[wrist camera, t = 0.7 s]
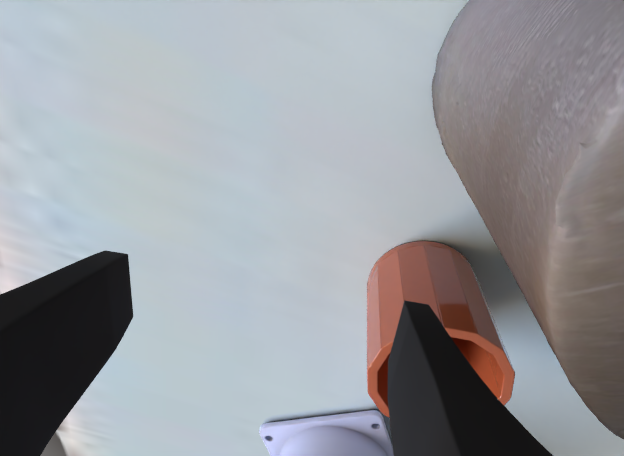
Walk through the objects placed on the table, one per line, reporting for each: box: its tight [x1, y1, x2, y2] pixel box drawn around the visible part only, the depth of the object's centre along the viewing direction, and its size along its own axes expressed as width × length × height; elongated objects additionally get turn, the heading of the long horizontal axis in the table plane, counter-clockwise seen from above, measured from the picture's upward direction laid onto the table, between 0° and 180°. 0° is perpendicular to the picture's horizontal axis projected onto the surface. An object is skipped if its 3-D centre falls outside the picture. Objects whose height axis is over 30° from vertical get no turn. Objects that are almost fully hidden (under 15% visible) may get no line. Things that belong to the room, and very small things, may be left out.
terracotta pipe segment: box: [367, 241, 515, 418], centre depth 20 cm, size 5×6×6 cm
